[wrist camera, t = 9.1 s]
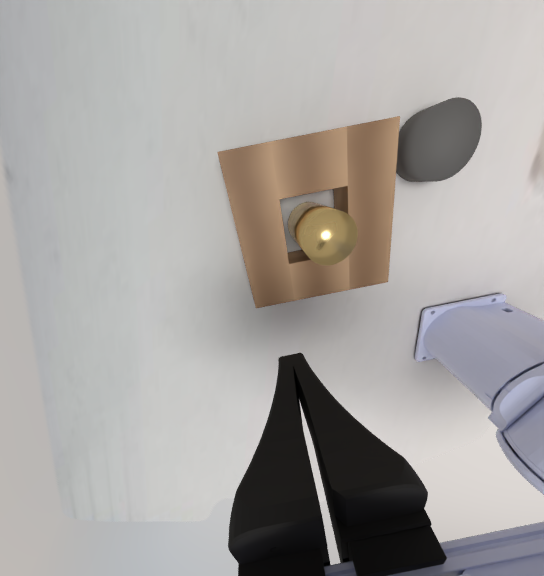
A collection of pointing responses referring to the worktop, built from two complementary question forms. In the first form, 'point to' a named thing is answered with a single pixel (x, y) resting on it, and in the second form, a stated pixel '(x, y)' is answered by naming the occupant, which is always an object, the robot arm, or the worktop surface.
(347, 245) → the brass cylinder plug
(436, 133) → the flat gray river rock
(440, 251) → the worktop surface
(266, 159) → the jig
